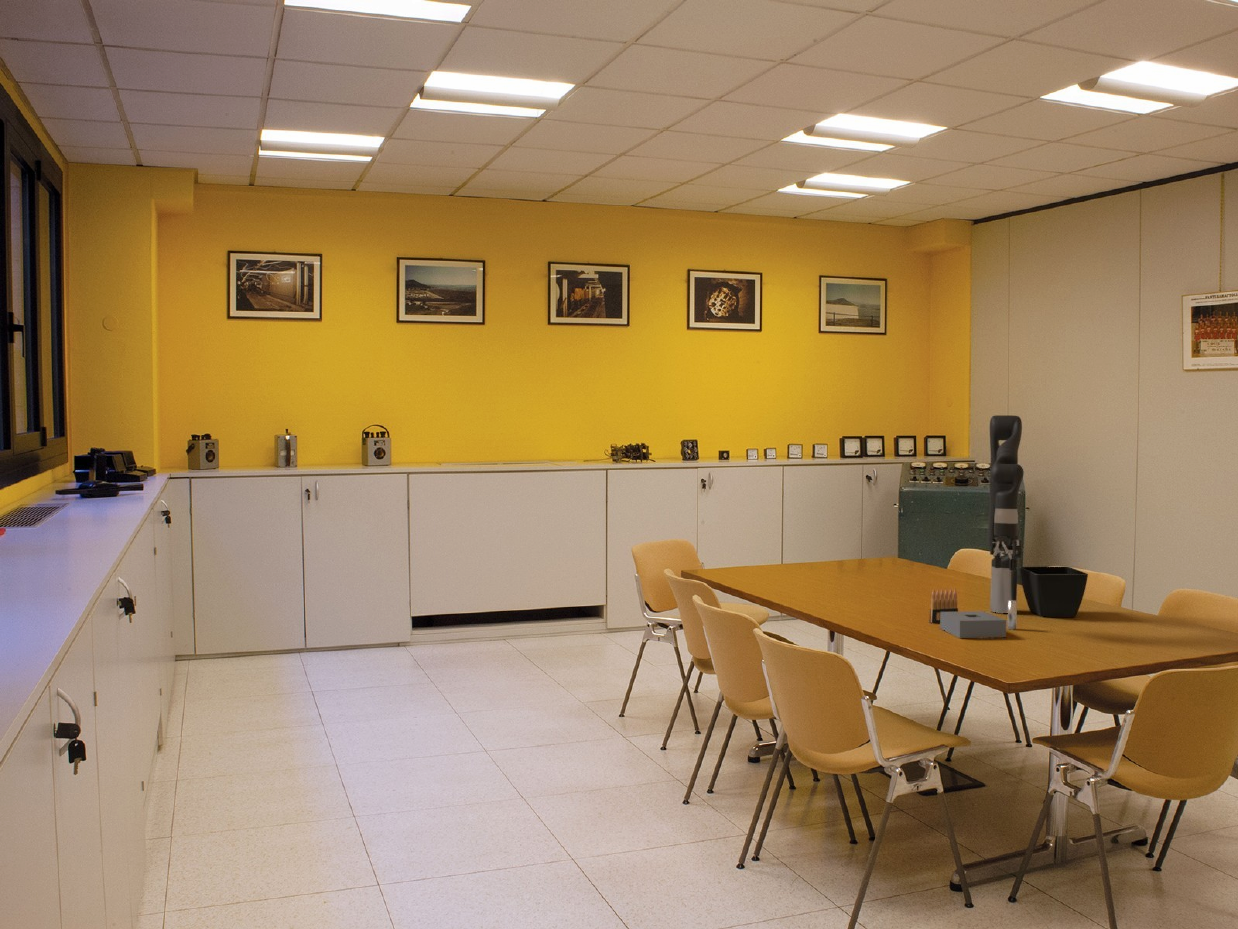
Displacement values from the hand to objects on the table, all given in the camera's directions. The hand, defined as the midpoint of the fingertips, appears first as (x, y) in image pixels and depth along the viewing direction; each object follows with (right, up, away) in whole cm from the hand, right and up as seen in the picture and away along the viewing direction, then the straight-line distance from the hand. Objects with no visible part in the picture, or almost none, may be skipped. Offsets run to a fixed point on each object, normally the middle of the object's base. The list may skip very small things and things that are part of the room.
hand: (1005, 569), depth 353 cm
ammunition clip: (-16, -21, +16) cm, 31 cm away
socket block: (-12, -22, -3) cm, 25 cm away
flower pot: (+30, -21, +32) cm, 48 cm away
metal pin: (+4, -21, +5) cm, 22 cm away
